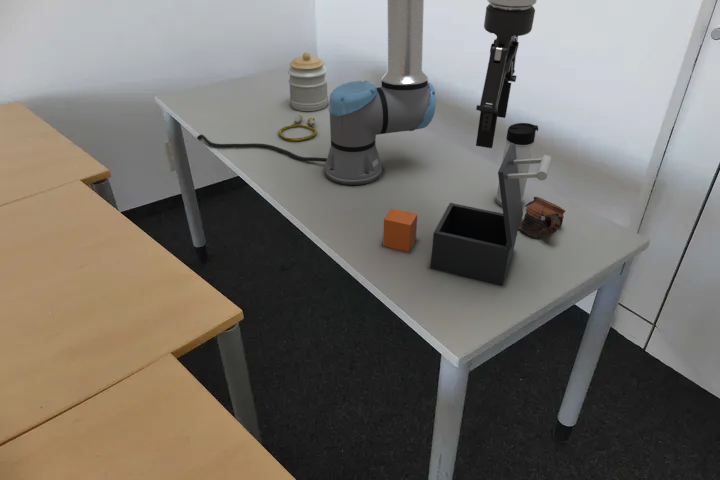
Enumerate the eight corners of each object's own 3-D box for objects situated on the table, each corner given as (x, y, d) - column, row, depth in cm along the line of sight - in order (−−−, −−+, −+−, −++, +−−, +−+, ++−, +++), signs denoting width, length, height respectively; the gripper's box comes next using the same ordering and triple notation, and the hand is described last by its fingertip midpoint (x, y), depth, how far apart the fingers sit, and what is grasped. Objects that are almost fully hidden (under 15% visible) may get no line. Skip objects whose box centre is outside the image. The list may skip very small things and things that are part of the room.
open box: (430, 268, 112) (433, 232, 107) (446, 236, 121) (450, 202, 116) (502, 286, 107) (509, 249, 102) (513, 251, 116) (520, 216, 111)
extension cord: (331, 127, 170) (331, 121, 169) (300, 145, 160) (299, 139, 158) (301, 119, 176) (300, 113, 175) (268, 136, 165) (268, 129, 164)
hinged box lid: (497, 172, 94) (544, 169, 91) (510, 144, 104) (552, 140, 100) (507, 247, 102) (550, 247, 98) (518, 214, 111) (558, 214, 108)
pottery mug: (507, 222, 126) (524, 190, 124) (539, 235, 129) (556, 204, 127) (533, 240, 115) (552, 205, 113) (567, 253, 118) (586, 219, 116)
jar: (296, 96, 192) (293, 45, 182) (332, 99, 190) (330, 47, 180) (285, 110, 182) (280, 57, 172) (322, 113, 180) (320, 59, 169)
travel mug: (523, 210, 130) (539, 132, 118) (495, 207, 131) (508, 130, 120) (522, 197, 135) (537, 121, 123) (495, 194, 136) (508, 119, 125)
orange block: (382, 246, 118) (383, 219, 114) (390, 235, 122) (391, 208, 118) (409, 252, 116) (410, 225, 112) (415, 240, 120) (417, 214, 116)
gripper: (524, 27, 75) (500, 164, 87) (544, -10, 93) (522, 108, 106) (470, 21, 77) (454, 156, 89) (500, -13, 95) (484, 102, 108)
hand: (491, 130), depth 98 cm, fingers open, 13 cm apart
